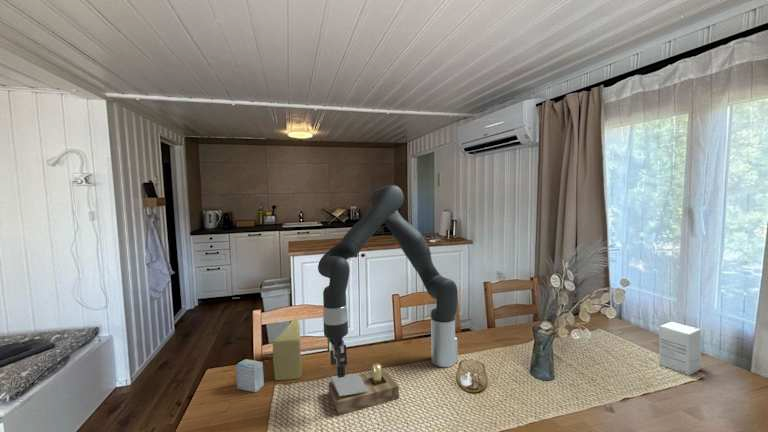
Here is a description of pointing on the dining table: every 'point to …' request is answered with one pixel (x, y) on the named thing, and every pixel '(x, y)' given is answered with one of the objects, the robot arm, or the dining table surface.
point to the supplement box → (680, 347)
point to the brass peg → (376, 374)
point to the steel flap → (349, 384)
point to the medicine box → (249, 375)
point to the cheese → (287, 353)
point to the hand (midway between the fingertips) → (337, 370)
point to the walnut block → (365, 394)
